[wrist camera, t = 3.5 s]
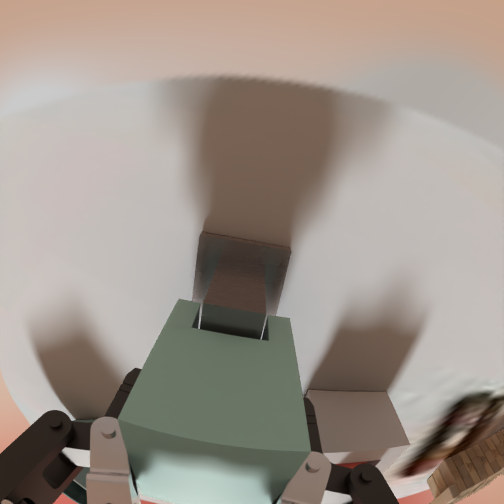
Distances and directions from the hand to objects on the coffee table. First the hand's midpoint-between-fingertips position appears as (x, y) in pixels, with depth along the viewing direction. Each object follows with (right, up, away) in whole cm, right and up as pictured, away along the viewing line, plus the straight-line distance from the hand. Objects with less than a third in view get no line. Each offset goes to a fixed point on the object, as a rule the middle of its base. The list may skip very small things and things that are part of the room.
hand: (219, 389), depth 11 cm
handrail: (-1, -6, +9) cm, 10 cm away
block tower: (+43, -27, +15) cm, 53 cm away
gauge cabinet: (+8, -8, +9) cm, 15 cm away
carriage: (0, +1, +2) cm, 2 cm away
